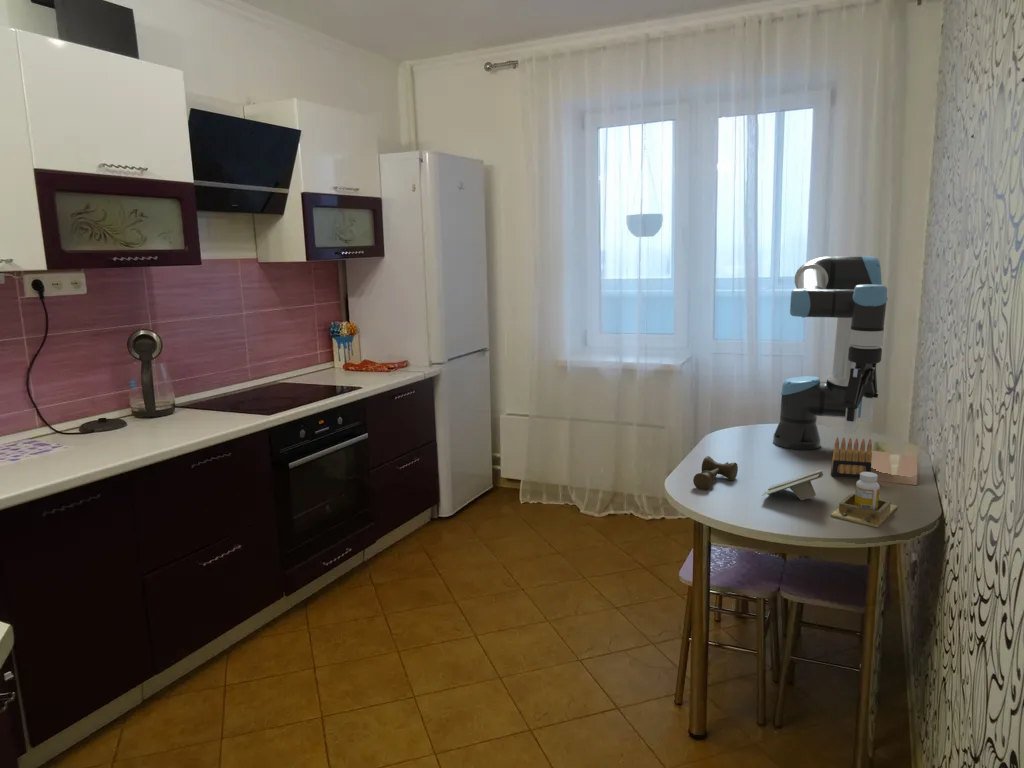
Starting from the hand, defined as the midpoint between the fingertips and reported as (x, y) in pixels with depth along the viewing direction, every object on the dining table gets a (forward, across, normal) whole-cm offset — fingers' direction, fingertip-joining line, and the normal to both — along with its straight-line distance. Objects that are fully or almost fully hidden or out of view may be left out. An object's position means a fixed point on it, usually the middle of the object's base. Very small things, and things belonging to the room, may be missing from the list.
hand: (858, 427), depth 180 cm
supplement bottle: (+21, +3, +4) cm, 22 cm away
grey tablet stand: (+22, +5, -14) cm, 26 cm away
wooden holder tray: (+21, +3, +4) cm, 22 cm away
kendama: (+22, +5, -36) cm, 43 cm away
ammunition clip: (+22, -23, -7) cm, 33 cm away
